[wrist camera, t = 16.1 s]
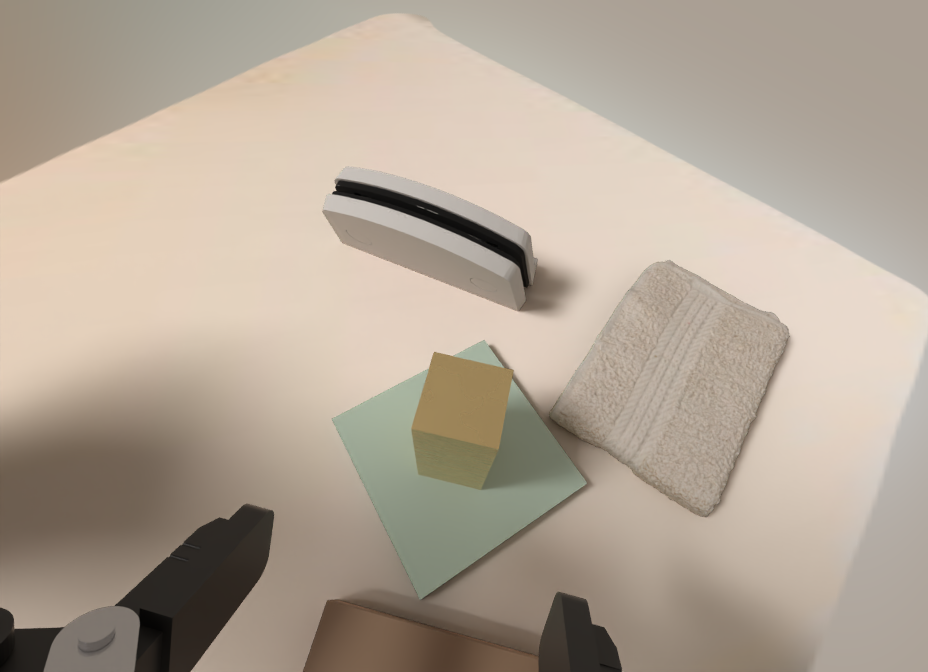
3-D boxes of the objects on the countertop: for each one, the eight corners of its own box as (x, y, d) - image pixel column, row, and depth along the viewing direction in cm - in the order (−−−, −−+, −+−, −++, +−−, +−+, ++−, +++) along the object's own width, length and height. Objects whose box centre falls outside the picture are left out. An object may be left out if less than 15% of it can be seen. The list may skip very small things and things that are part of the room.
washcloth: (776, 336, 36) (803, 315, 33) (700, 529, 28) (728, 522, 26) (643, 266, 39) (658, 242, 36) (541, 422, 31) (551, 406, 29)
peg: (418, 474, 27) (410, 428, 20) (434, 415, 29) (433, 352, 22) (480, 490, 27) (498, 449, 19) (492, 428, 29) (513, 369, 21)
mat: (334, 424, 30) (331, 418, 29) (482, 346, 33) (484, 339, 33) (420, 599, 25) (420, 600, 24) (582, 486, 29) (587, 483, 28)
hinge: (540, 268, 38) (554, 211, 28) (520, 317, 37) (527, 277, 27) (368, 204, 40) (326, 132, 30) (346, 249, 39) (295, 190, 30)
